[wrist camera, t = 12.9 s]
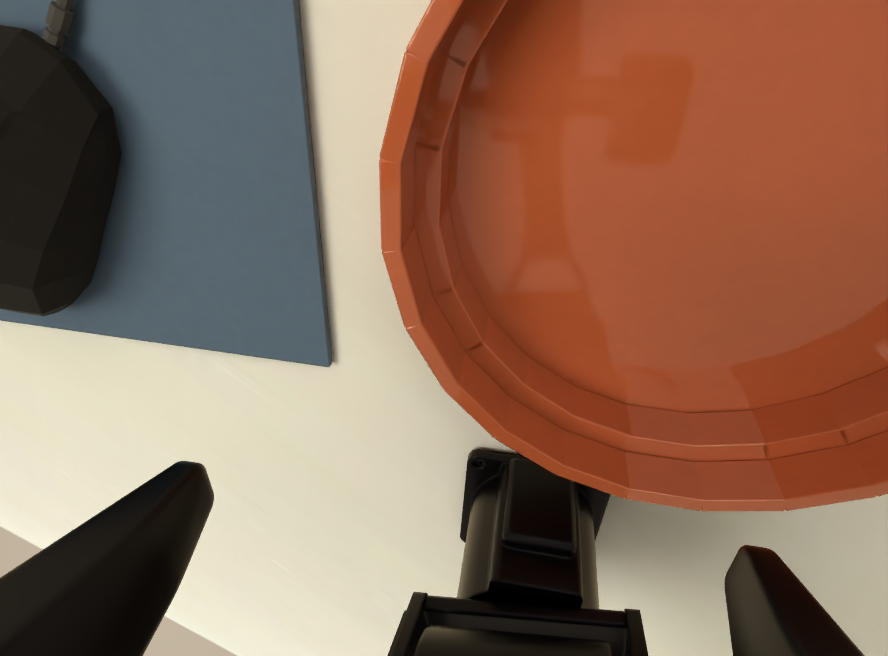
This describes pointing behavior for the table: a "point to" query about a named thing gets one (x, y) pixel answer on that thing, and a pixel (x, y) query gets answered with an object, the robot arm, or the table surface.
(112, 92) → the mouse pad
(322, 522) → the table surface
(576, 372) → the bowl
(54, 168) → the gaming mouse
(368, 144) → the table surface
